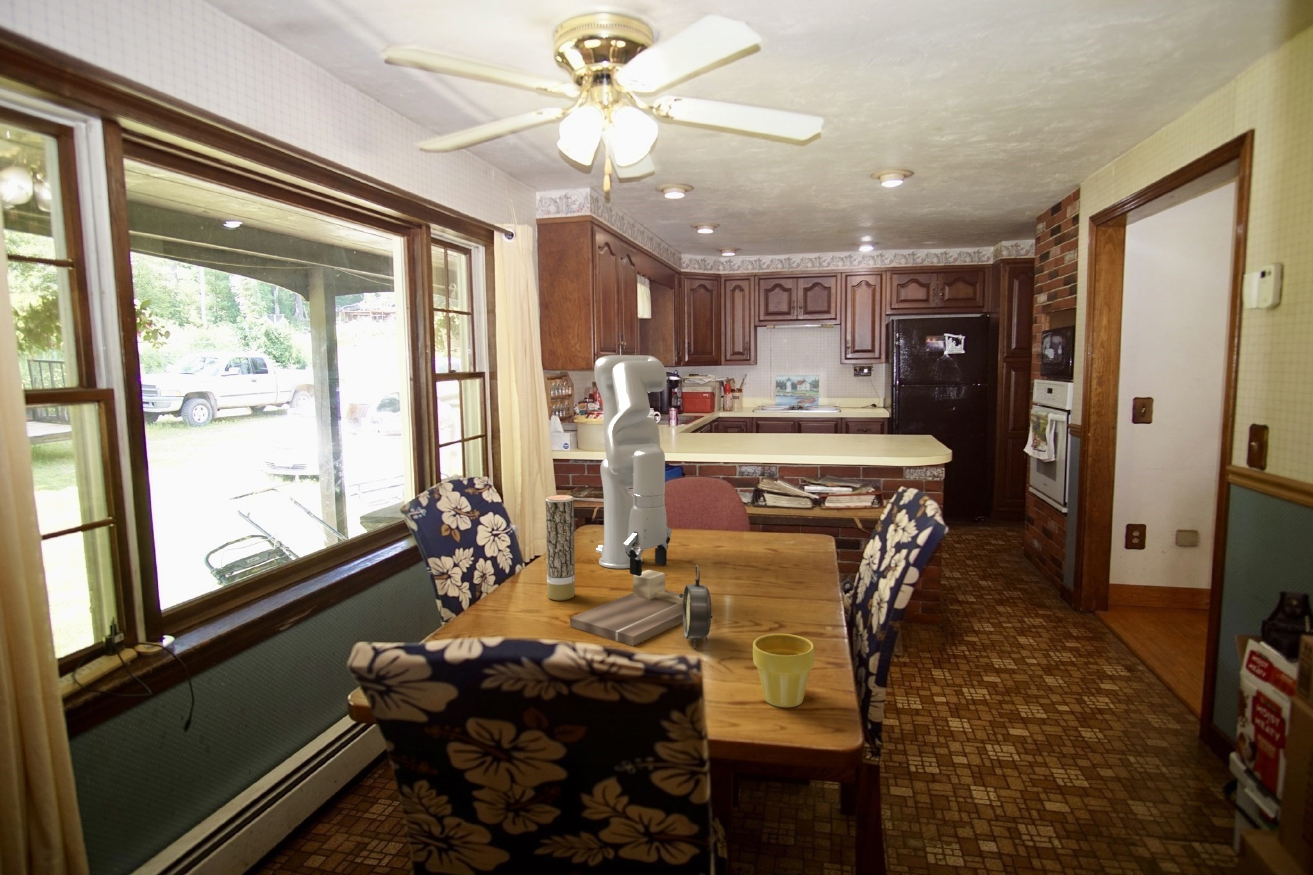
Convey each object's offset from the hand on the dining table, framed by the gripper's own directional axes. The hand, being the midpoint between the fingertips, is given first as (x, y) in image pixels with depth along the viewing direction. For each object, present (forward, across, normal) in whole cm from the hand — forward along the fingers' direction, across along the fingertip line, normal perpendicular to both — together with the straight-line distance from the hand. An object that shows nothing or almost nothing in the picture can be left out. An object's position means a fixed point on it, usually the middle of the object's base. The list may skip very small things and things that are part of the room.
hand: (648, 569), depth 171 cm
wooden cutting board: (+8, +10, +6) cm, 14 cm away
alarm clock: (+7, +14, +24) cm, 28 cm away
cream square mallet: (+6, +1, +5) cm, 7 cm away
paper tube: (+8, +11, -19) cm, 23 cm away
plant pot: (+6, +26, +50) cm, 56 cm away
